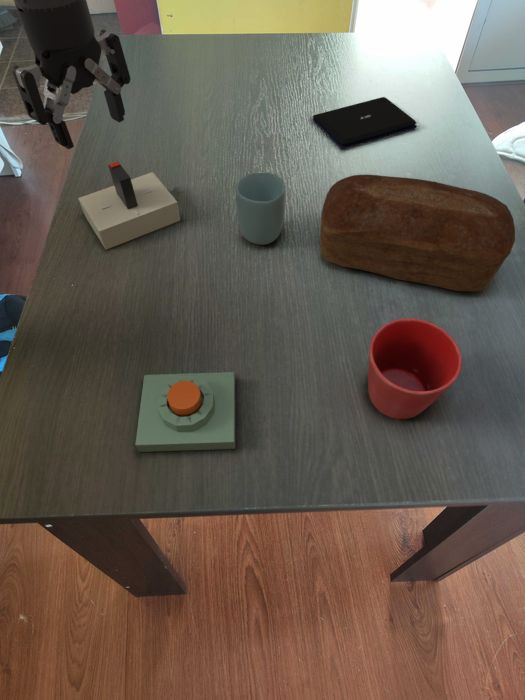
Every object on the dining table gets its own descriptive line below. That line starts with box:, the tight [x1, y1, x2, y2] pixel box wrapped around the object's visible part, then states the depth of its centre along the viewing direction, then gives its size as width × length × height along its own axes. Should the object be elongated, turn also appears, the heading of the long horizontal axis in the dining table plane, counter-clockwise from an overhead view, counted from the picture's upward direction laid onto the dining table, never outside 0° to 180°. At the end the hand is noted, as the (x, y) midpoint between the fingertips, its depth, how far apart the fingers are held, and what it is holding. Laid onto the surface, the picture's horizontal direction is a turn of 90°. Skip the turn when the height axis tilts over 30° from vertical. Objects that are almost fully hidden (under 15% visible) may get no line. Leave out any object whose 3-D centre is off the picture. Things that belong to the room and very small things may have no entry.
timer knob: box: [107, 161, 138, 209], centre depth 77 cm, size 5×2×6 cm, turn 32°
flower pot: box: [367, 317, 463, 420], centre depth 58 cm, size 11×11×10 cm
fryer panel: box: [77, 171, 181, 251], centre depth 81 cm, size 14×10×4 cm
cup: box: [235, 171, 287, 246], centre depth 76 cm, size 8×8×10 cm
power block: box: [134, 371, 236, 453], centre depth 59 cm, size 12×10×4 cm
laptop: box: [312, 96, 418, 150], centre depth 99 cm, size 16×20×2 cm
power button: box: [167, 381, 202, 416], centre depth 57 cm, size 4×4×2 cm
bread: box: [319, 174, 516, 292], centre depth 72 cm, size 14×28×12 cm, turn 73°
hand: (93, 132), depth 64 cm, fingers open, 8 cm apart
